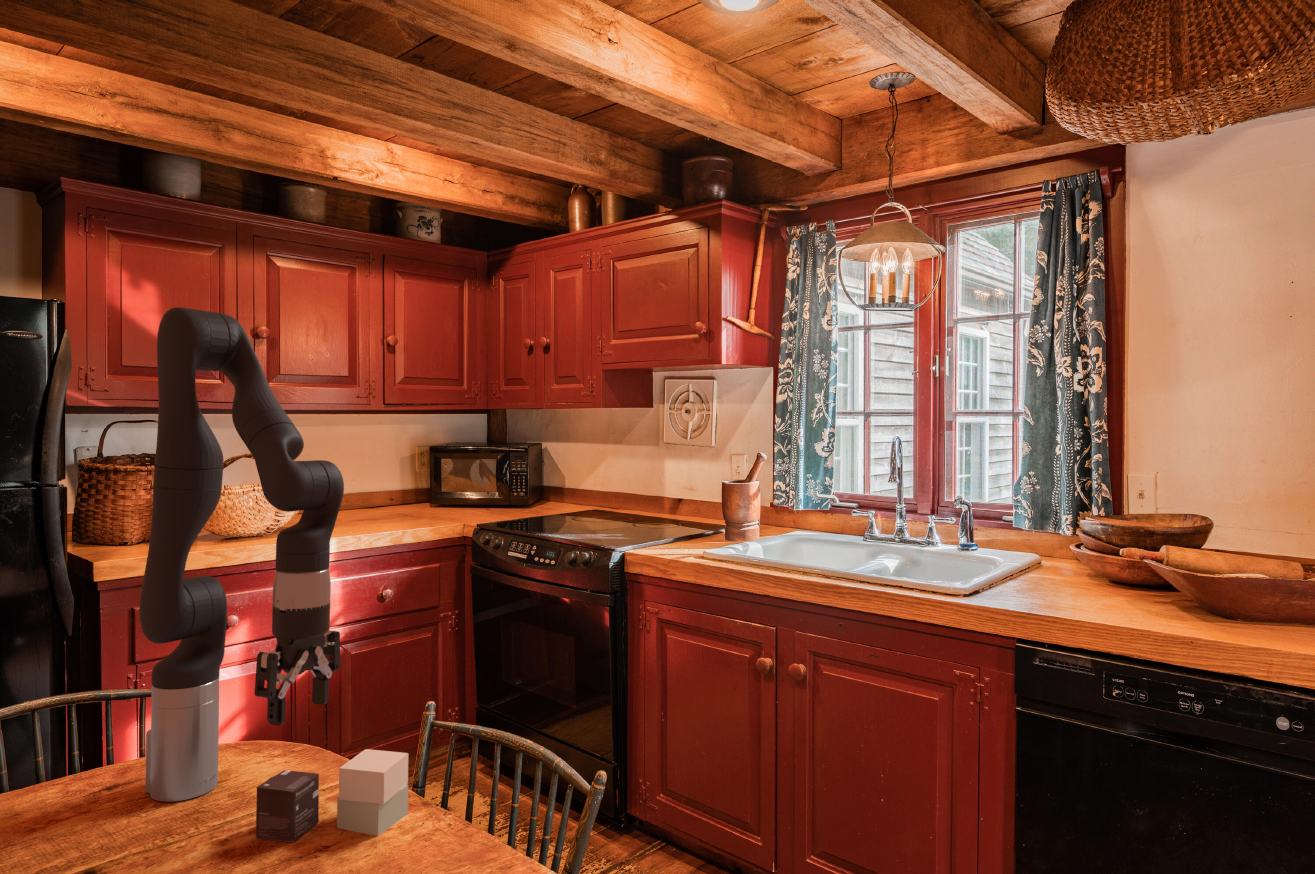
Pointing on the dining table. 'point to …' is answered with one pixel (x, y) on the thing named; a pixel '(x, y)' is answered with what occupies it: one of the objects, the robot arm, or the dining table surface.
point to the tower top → (373, 776)
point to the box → (287, 806)
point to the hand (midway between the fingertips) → (298, 713)
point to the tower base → (372, 814)
